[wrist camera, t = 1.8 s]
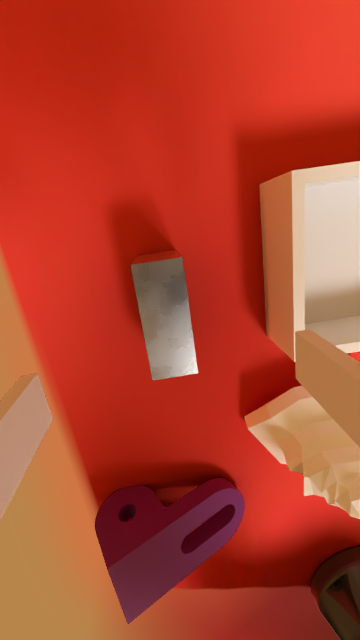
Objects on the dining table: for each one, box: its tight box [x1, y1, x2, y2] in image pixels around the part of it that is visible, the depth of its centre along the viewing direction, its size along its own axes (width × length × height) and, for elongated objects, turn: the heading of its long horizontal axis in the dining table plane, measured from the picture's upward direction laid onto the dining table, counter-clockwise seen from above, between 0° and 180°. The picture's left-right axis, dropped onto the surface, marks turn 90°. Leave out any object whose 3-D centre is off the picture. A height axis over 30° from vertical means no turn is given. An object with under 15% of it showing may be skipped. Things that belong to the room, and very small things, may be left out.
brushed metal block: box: [130, 250, 198, 380], centre depth 27 cm, size 10×4×8 cm, turn 8°
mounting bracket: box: [95, 478, 244, 624], centre depth 38 cm, size 9×8×18 cm
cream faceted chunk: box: [244, 386, 360, 519], centre depth 31 cm, size 12×15×14 cm
